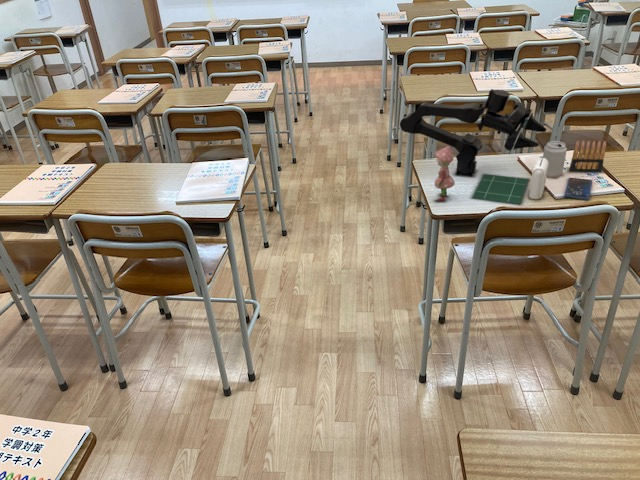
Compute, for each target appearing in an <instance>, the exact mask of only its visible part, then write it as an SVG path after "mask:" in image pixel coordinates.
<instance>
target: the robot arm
mask: <svg viewBox="0 0 640 480" xmlns="http://www.w3.org/2000/svg"><path fill="white" fill-rule="evenodd" d="M510 96H511V94H510V93H509V92H508V91H506V90H503V89H493V88H492V89H490V90H489V92H488V96H487V99H486V100H485V102H481V103H478V102H471V103H465V104H464V103H463V104H459V105H455V104H444V103H431V102H428V101H425V102H423V103H422V104H420V105H419V106H418V108H417V109H416V110H414V111H413V112H410V113H408V114H407V115H405V116H404V117H403V118H402V119H400V122H399V127H400V129H401V131H402V132H404V133H407V134H413V135H415V134H416V135H423V136H425V137H428V138H429V139H433V140H435V141H438V142H439V143H443V144H445V145H446V146H449V147H452V148H454V149H456V151H457V152H458V153H457V155H456V156H455V158H456V172H455V176H462V177H473V176H474V174H475V173H476V172H477V165H478V162H477V160H476V158H477V155H478V154H479V153H480V151H481V150H482V149H483V142H482V140H481V138H479V137H478V135H473V134H471V133H470V132H467V133H466V134H465V135H458V134H456V133H453V132H451V131H448V130H446V129H444V128H441V127H439V126H436V125H433V124H431V123H429V122H427V121H426V120H425V119H424V118H423V117H425V116H430V117H440V118H441V117H442V118H453V119H456V120H458V121H460V122H463V123H466V124H475V123H476V122H477V121H478V120H479V119H480V118H481V119H480V121H479V122H477V123H476V126H477V128H478V130H479V132H481V131H482V130H483V129H484V127H486V128H488V129H491V130H494V131H497V132H496V133H497V135H501V133H503V134H505V135H507V138H506V139H505V142H504V145H503V148H504V149H505V150H506V151H509V152H512V150H513V151H515V150H517V149H526V148H538V147H539V145H540V143H538V142H536V141H535V140H533V139H530V138H528V137H525V135H524V134H523V133H522V132H521V130H522V129H524V130H525V131H533V132H542V133H546V131H547V130H548V129H547V128H546V127H545V126H544V125H543V124H541V123H540V122H538V120H536V119H535V117H534V113H533V110H532V109H531V108H527V107H526V104H525V103H524V102H519V101H517V102H515V104H514V105H513V111H512V112H511V113H509V112H506V113H505V114H502V113H500V112H504V110H505V108H506V106H507V103H508V101H509V98H510ZM485 112H486V113H485Z"/></svg>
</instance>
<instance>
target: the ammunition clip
mask: <svg viewBox="0 0 640 480" xmlns="http://www.w3.org/2000/svg"><path fill="white" fill-rule="evenodd" d="M601 144H602V145H601ZM606 148H607V141H606V140H604V141H603V143H602V142H601V140H598V142H597V144H596V140H593V142H592V143H591V141H590V140H587V142H586V145H585V140H582V141H581V144H580V141H579V140H577V141H576V143H575V146H574V149H573V152H572V157H571V161H570V164H569V169H568V171H569V172H570V173H602V172H603V166H604V161H605V155H606Z"/></svg>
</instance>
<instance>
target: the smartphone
mask: <svg viewBox="0 0 640 480" xmlns="http://www.w3.org/2000/svg"><path fill="white" fill-rule="evenodd" d="M592 185H593V180H592V179H587V178H579V177H568V180H567V183H566V188H565V191H564V197H565V198H569V199H570V198H571V199H576V200H577V199H578V200H583V201H584V200H585V201H588V200H590V197H591V192H592V191H591V190H592Z"/></svg>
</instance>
